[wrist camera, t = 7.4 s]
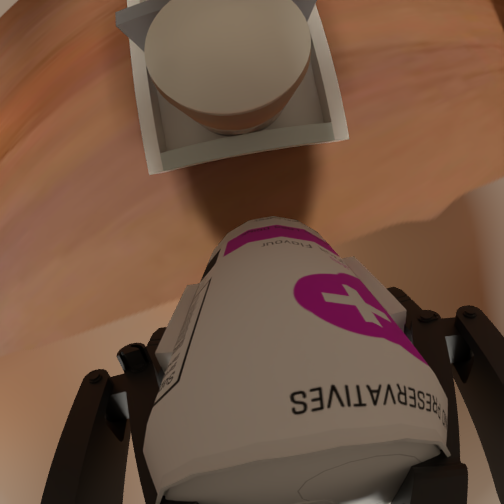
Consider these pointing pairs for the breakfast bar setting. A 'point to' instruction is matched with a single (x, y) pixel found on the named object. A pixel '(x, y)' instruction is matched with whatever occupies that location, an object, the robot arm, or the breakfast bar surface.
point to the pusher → (142, 14)
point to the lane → (220, 147)
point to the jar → (229, 60)
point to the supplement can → (290, 382)
